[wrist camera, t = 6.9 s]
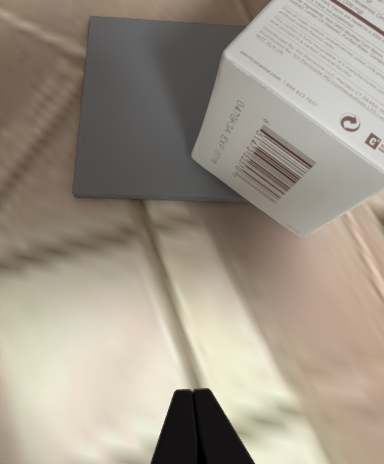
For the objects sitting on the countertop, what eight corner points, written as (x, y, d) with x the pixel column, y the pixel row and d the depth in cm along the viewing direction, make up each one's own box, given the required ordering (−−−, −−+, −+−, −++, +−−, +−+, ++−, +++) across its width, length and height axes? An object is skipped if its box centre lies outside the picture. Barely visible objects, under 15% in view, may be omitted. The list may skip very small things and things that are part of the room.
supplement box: (185, 157, 19) (304, 23, 23) (302, 244, 18) (402, 91, 22) (215, 45, 12) (378, -118, 16) (406, 180, 11) (522, -25, 16)
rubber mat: (266, 203, 19) (269, 199, 19) (75, 196, 19) (72, 192, 18) (257, 35, 22) (259, 27, 22) (92, 24, 22) (90, 15, 21)
